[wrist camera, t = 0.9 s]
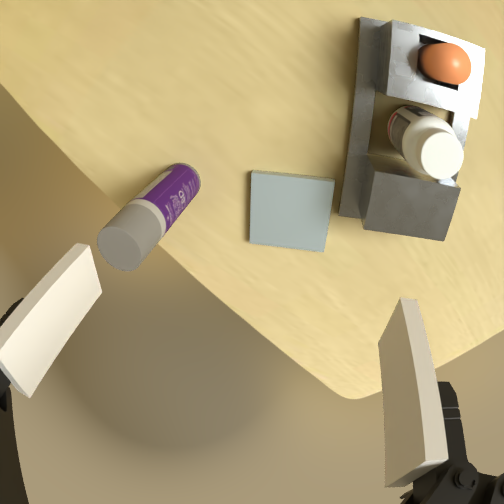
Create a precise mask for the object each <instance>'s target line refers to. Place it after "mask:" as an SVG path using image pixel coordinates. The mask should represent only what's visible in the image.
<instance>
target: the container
mask: <svg viewBox="0 0 504 504" xmlns="http://www.w3.org/2000/svg"><path fill="white" fill-rule="evenodd" d="M200 185H201V181H200V177H199V175H198V173H197V171H196V170H195V169H194V168H193V167H191V166H190V165H188V164H185V163H176V164H174V165H172V166H170V167H169V168H168V169H167V170H165V171H164V172H163V173H162V174H161V175H159V176H158V177H157V178H156V179H155V180H153V181H152V182H151V183H150V184H149V185H148V186H146V187H145V188H144V189H143V190H142V191H141V192H140V193H138V194H137V195H136V196H135V197H134V198H133V199H132V200H131V201H130V202H128V203H127V204H126V205H125V206H124V207H123V208H122V209H121V210H120V211H119V212H118V213H117V214H116V215H115V216H114V217H113V219H112V220H110V222H109V223H108V224H107V225H106V226H105V227H104V228H103V229H102V230H101V231H100V232H99V234H98V238H97V245H98V248H99V251H100V253H101V255H102V256H103V258H104V259H105V260H106V261H107V262H108V263H109V264H110V265H111V266H113V267H115V268H117V269H119V270H122V271H132V270H135V269H136V268H138V267H139V265H140V264H141V263H142V262H143V260H144V259H145V258H146V257H147V255H148V254H149V253H150V252H151V250H152V249H153V248H154V247H155V246H156V244H157V243H158V242H159V241H160V240H161V238H162V237H163V236H164V235H165V233H166V232H167V231H168V229H169V228H170V227H171V226H172V224H173V223H174V222H175V220H176V219H177V218H178V217H179V215H180V214H181V213H182V212H183V210H184V209H185V208H186V207H187V205H188V204H189V203H190V202H191V200H192V199H193V198H194V197H195V195H196V194H197V193H198V191H199V189H200Z"/></svg>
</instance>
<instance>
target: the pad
mask: <svg viewBox="0 0 504 504" xmlns="http://www.w3.org/2000/svg"><path fill="white" fill-rule="evenodd" d="M334 185H335V179H330V178H323V177H315V176H306V175H298V174H288V173H279V172H268V171H258V170H253V171H252V173H251V209H250V243H252V244H260V245H268V246H277V247H285V248H293V249H301V250H309V251H317V252H324V248H325V242H326V237H327V231H328V225H329V218H330V212H331V206H332V199H333V192H334Z"/></svg>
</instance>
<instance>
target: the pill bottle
mask: <svg viewBox="0 0 504 504" xmlns="http://www.w3.org/2000/svg"><path fill="white" fill-rule="evenodd" d="M387 131H388V136H389V139H390V141H391V143H392V144H393V146H394V147H395V148H396V149H397V151H398V152H399V153H400V154H401V155H402V156H403V158H404V159H405V160H406V161H407V163H408V164H409V165H410V166H411V167H412V168H413V169H415V170H416V171H418V172H419V173H422V174H425V175H430V176H431V177H433V178H436V179H447V178H450V177H452V176H453V175H455V174H456V173H457V172H458V171H459V169H460V167H461V165H462V162H463V149H462V146H461V144H460V142H459V141H458V139H457V137H456V135H455V132H454V131H453V129H452V128H451V126H450V125H449V124H448V123H447V122H445V121H444V120H443V119H441V118H439V117H437V116H435V115H433V114H431V113H429V112H427V111H425V110H424V109H421V108H419V107H416V106H403V107H401V108H399V109H397V110H396V111H395V112H394V113H393V114H392V115H391V117H390V119H389V122H388V128H387Z"/></svg>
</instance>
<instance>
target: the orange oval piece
mask: <svg viewBox="0 0 504 504" xmlns="http://www.w3.org/2000/svg"><path fill="white" fill-rule="evenodd" d="M417 68H418V70H419V71H420V73H421V74H422V75H424V76H425V77H427V78H429V79H433V80H437V81H442V82H446V83H450V84H455V85H458V84H462V83H464V82H466V81H467V80H468V78H469V77H470V75H471V71H472V65H471V60H470V58H469V56H468V54H467V53H466V51H465V50H464V49H463V48H462V47H460V46H459V45H457V44H454V43H439V44H428V45H424V46H422V47H420V48H419V49H418V59H417Z"/></svg>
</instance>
